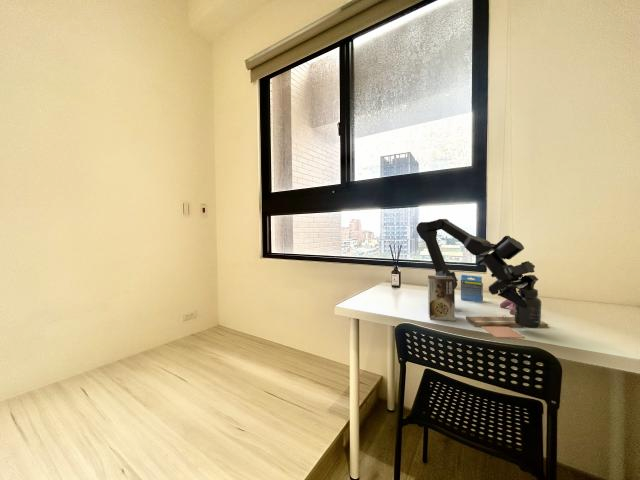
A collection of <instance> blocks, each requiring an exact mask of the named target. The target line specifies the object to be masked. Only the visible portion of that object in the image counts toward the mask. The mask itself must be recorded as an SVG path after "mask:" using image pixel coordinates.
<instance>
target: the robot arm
mask: <svg viewBox="0 0 640 480" xmlns="http://www.w3.org/2000/svg"><path fill="white" fill-rule="evenodd" d="M439 230H442V231H443V232H445V233H447V234H448V235H449V236H450V237H453V238H454V239H455V240H457V241H458V242H460V243H461V244H462V245H463V246H464V248H465V249H466V250H467V252H469V254H472V255H473V256H482V255H484V256H483V257H478V258H477V262H476V266H484V265H485V267H486V268H487V269H488V270H489V271H490V273H491V274H490V277H491V278H496V280H495V281H493V282H492V283H491V284H490V285H489V286H488V291H489V293H490V294H491V295H492V296H494V295H497V296H499V297H502V298H503V299H504V300H506V299H507V300H509V301H511V302H513V303H515V304H517V305H518V306H520V307H522V308H524V309H525V308H527V305H526V304H525V302H524V301H523V300H522V298H521V297H520V294H519V288H523V287H524V288H533V289H535V284H536V282H538V281H539V278H538V277H537V276H536V275H535V274H532V273H535V268H536V266H535V264H533V263H532V262H530V261H529V260H528V261H524V262H521V263H520V264H516V265H512V264H508V263H507V262H506V261H505V260H508V261H509V260H510V261H511V259H513V258H514V257H515V256H517V255H518V254H519V253H521V252H522V251H523V250H525V246H524V245H523V244H522V243H521V242H520V241H518V240H516V239H515V238H513V237H511V235H510V236H509V235H504V237H502V238H501V240H499V241H498V242H497V243H491V242H490V241H489V240H487V239H485V238H482V237H479V236H475V235H473V234H470V233H469V232H467V231H466V230H464V229H462V228H460V227H459V226H458V225H456V224H454V223H452V222H451V221H450V220H448V219H447V218H438V219H436V220H432V221H421V222H418V223H417V226H416V232H417V233H418V237H420V239H421V240H422V241H423V242H425V246H426V248H427V251H428V254H429V257H430V259H431V262H432V266H433V268H434V270H435V275H434V276H452V277H453V278H454V290H455V289H456V288H457V286H458V281H459V279H457V276H456V273H455V271H450V270H449V269H448V267H447V264H446V261H445V258H444V255H443V253H442V251H441V248H440V245H439V242H438V240H437V236H438V231H439ZM490 252H491V253H490ZM529 273H531V274H529ZM525 274H526V275H525ZM517 289H518V290H517ZM537 298H539V297H538V296H537Z"/></svg>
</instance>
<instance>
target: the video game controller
mask: <svg viewBox="0 0 640 480" xmlns="http://www.w3.org/2000/svg"><path fill="white" fill-rule="evenodd" d="M499 308H501V309H504V308H508V309H510V310H509V314H510V315H515V303H513V302H511V301H509V300H507V299H504V300H503V301H501V302H500V303H499Z"/></svg>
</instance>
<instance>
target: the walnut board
mask: <svg viewBox="0 0 640 480" xmlns="http://www.w3.org/2000/svg"><path fill="white" fill-rule="evenodd" d="M514 317H515V316H475V315H474V316H472V315H471V316H470V315H469V316H467V315H466V316H465V321H467V322H468V323H469V324H471V325H472V326H474V327H476V328H479V327H480V328H481V327H482V326H505V327H509V328H524V327H523V326H520V325H518V324H516V323H515V321H514ZM539 328H549V323H547V322H544V321H542V320H541V325H540V327H539Z"/></svg>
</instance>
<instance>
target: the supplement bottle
mask: <svg viewBox="0 0 640 480" xmlns="http://www.w3.org/2000/svg"><path fill="white" fill-rule="evenodd" d="M518 290H519V292H518V294H519V295H520V297H521V298H522V300H523V301H524V302H525V304H526V305H527V308H525V309H524V308H522V307H520V306H518V305H517V304H515V314H514V316H513V317H514V321H515V323H516V324H518V325H520V326H523V327H522V328H529V329H537V328H541V327H540V325H541V321H542V300H541V299H540V298H539V297H538V296H539V293H538V292H539V290H538V289H536V288H534V289H533V288H524V287H523V288H519V289H518ZM537 297H538V298H537Z"/></svg>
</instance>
